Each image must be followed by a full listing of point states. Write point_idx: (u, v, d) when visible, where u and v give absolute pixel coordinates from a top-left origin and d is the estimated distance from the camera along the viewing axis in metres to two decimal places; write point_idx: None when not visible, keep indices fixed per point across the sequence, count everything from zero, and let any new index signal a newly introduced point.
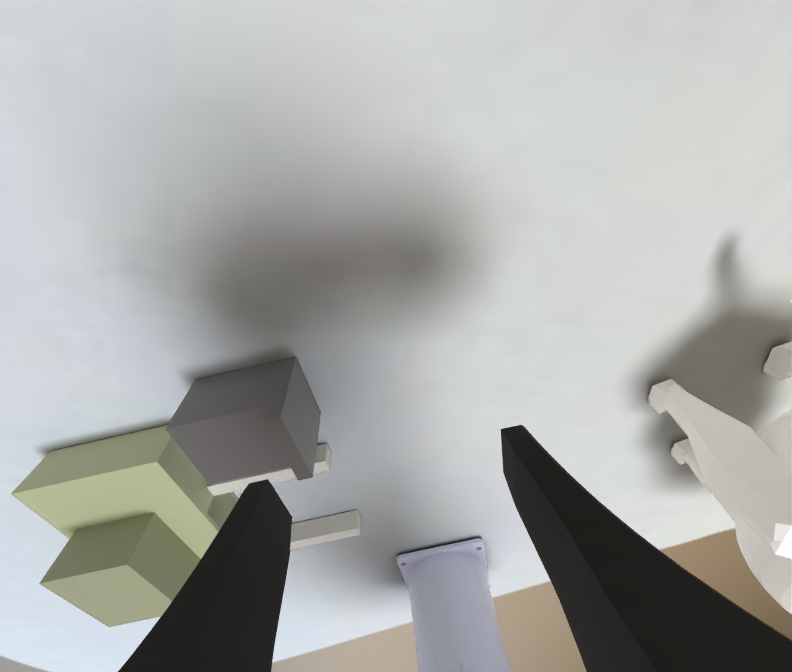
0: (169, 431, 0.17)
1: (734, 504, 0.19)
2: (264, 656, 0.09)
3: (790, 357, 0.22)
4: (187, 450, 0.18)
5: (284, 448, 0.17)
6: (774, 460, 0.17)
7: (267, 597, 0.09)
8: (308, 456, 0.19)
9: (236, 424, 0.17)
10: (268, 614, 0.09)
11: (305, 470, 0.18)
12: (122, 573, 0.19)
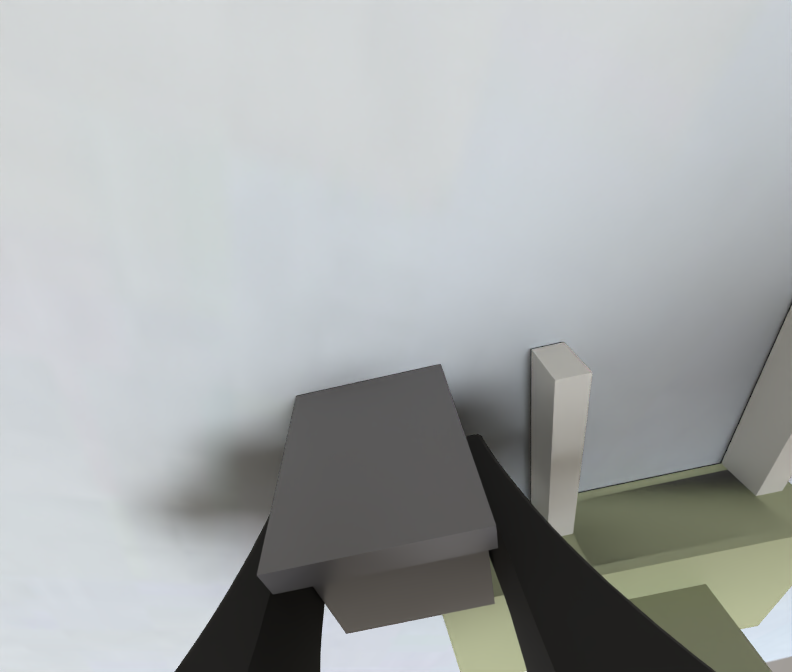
0: (352, 631, 0.10)
1: None
2: (314, 646, 0.09)
3: None
4: (399, 619, 0.10)
5: (369, 568, 0.07)
6: None
7: None
8: (440, 503, 0.07)
9: None
10: (315, 604, 0.09)
11: (462, 537, 0.07)
12: None
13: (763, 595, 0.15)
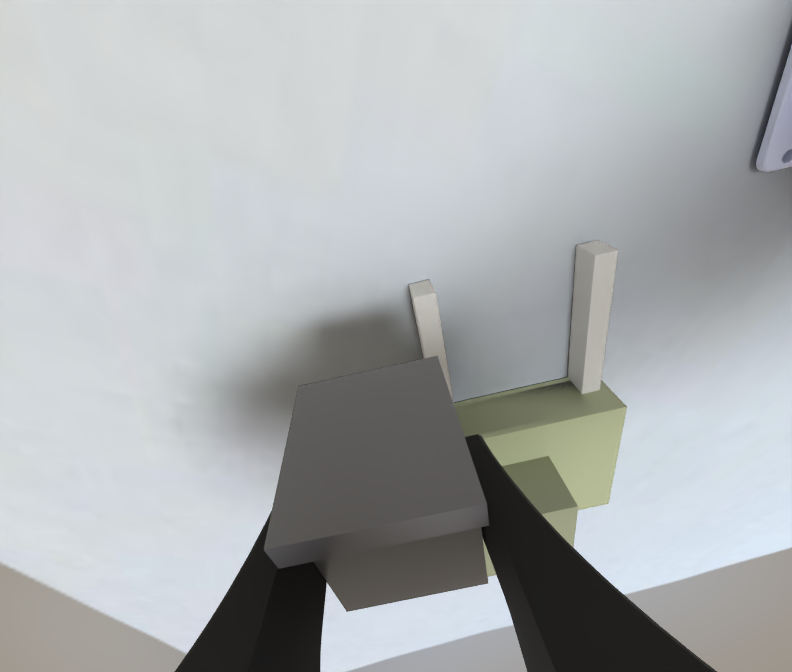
0: (352, 608, 0.11)
1: None
2: (314, 646, 0.09)
3: None
4: (397, 597, 0.11)
5: (368, 544, 0.07)
6: None
7: (314, 587, 0.09)
8: (435, 484, 0.07)
9: (338, 556, 0.09)
10: (315, 604, 0.09)
11: (455, 515, 0.07)
12: None
13: (598, 470, 0.21)
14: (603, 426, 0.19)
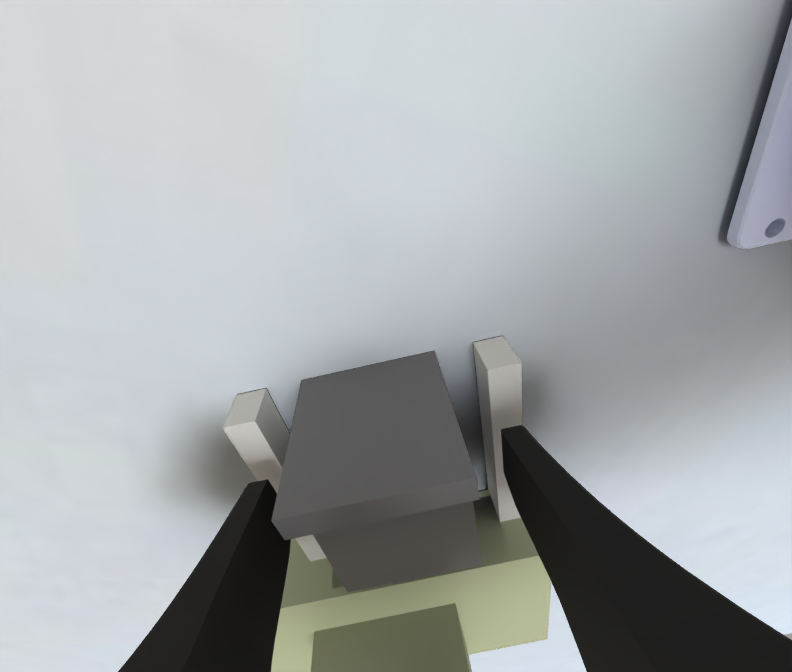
0: (353, 589, 0.12)
1: None
2: (264, 656, 0.09)
3: None
4: (395, 578, 0.11)
5: (368, 516, 0.08)
6: None
7: (267, 597, 0.09)
8: (429, 462, 0.08)
9: (340, 535, 0.10)
10: (268, 614, 0.09)
11: (447, 488, 0.08)
12: None
13: (527, 612, 0.16)
14: (524, 572, 0.14)
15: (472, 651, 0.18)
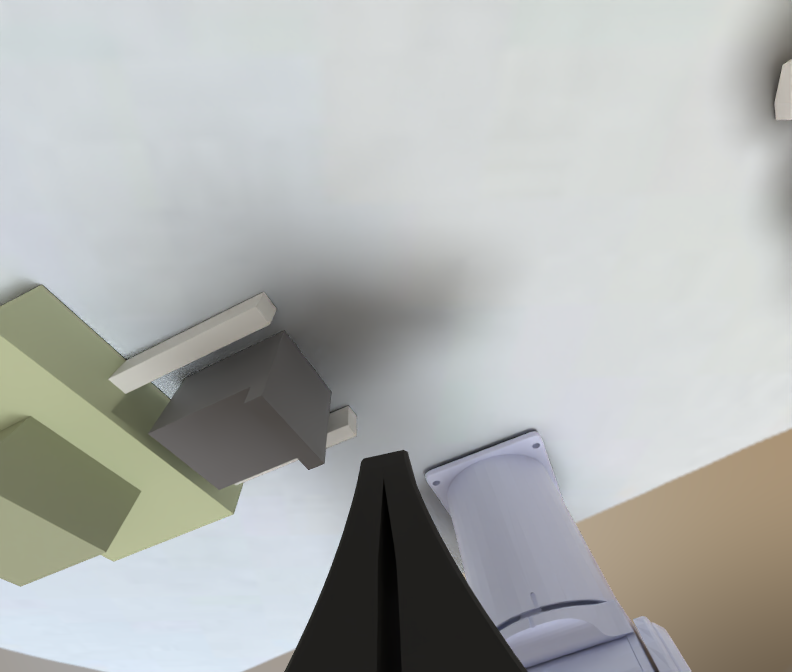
0: (153, 435, 0.15)
1: None
2: None
3: None
4: (181, 454, 0.16)
5: (280, 433, 0.14)
6: None
7: None
8: (314, 440, 0.16)
9: (222, 415, 0.15)
10: None
11: (313, 456, 0.15)
12: None
13: (150, 533, 0.20)
14: (203, 510, 0.19)
15: None
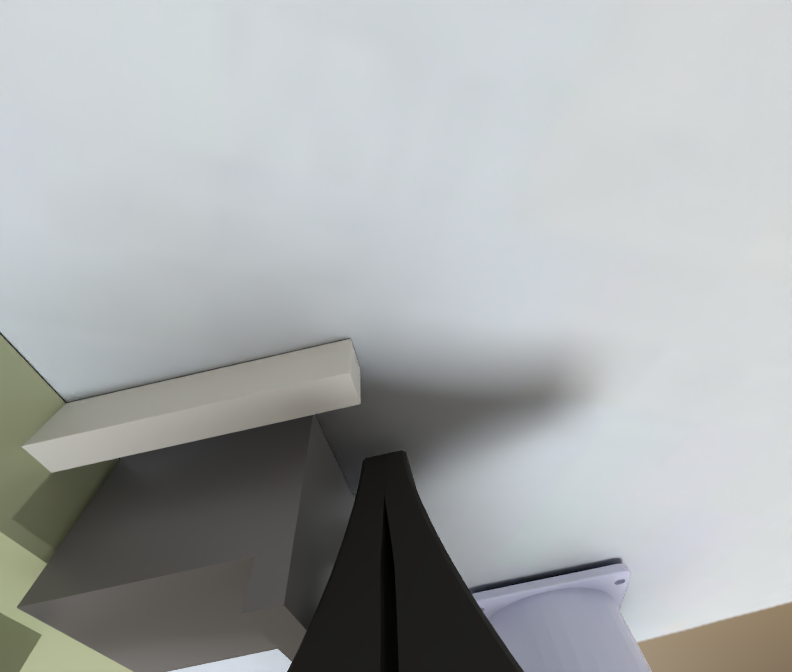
0: (28, 610, 0.08)
1: None
2: None
3: None
4: (81, 635, 0.08)
5: (294, 651, 0.07)
6: None
7: None
8: None
9: (182, 590, 0.08)
10: None
11: None
12: None
13: None
14: None
15: None
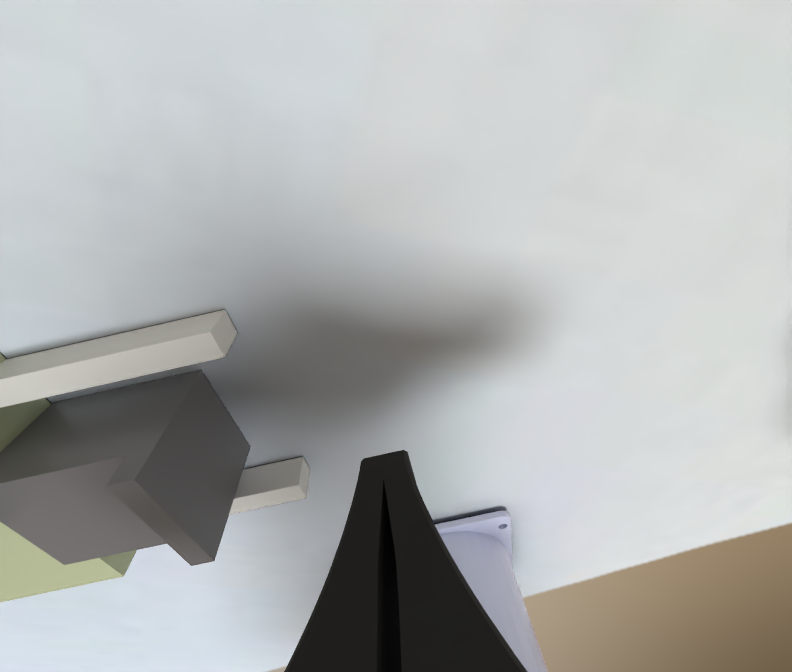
0: None
1: None
2: None
3: None
4: (9, 521, 0.11)
5: (155, 524, 0.11)
6: None
7: None
8: (207, 528, 0.12)
9: (78, 483, 0.11)
10: None
11: (200, 552, 0.12)
12: None
13: None
14: (81, 569, 0.14)
15: None
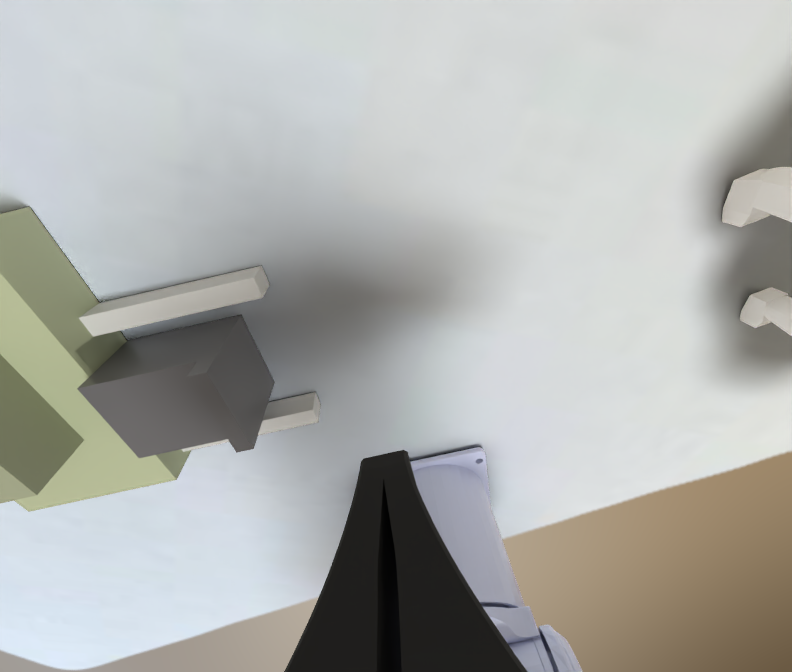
0: (82, 392, 0.15)
1: None
2: None
3: None
4: (107, 415, 0.16)
5: (216, 412, 0.15)
6: None
7: None
8: (248, 425, 0.16)
9: (160, 384, 0.15)
10: None
11: (244, 440, 0.16)
12: None
13: (80, 486, 0.19)
14: (145, 471, 0.19)
15: None
